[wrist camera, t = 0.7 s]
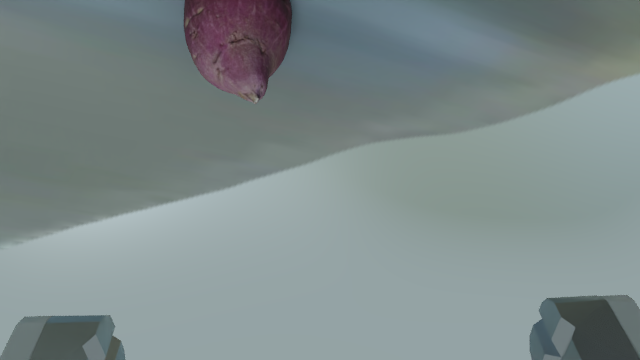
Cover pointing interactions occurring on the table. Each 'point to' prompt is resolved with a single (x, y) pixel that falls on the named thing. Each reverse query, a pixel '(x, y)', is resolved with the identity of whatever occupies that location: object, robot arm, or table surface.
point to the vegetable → (238, 42)
